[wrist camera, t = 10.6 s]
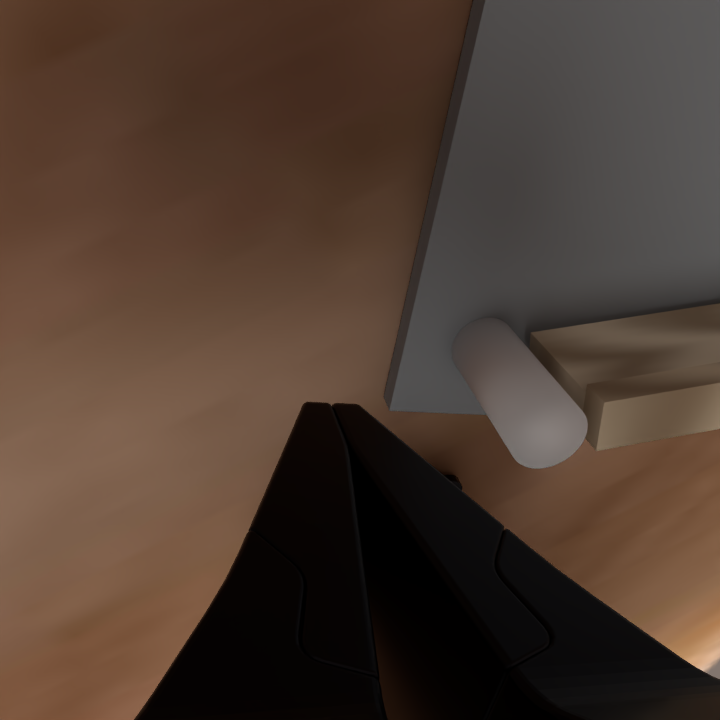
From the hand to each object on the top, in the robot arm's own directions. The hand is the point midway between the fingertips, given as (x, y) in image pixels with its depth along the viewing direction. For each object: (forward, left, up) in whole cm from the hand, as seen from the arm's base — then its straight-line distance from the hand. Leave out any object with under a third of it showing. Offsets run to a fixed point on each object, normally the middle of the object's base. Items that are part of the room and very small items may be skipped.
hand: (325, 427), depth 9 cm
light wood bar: (-2, -17, -11) cm, 20 cm away
